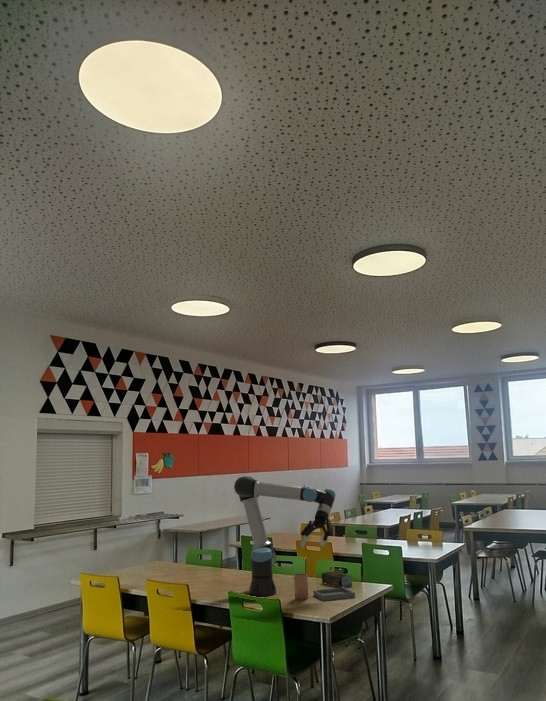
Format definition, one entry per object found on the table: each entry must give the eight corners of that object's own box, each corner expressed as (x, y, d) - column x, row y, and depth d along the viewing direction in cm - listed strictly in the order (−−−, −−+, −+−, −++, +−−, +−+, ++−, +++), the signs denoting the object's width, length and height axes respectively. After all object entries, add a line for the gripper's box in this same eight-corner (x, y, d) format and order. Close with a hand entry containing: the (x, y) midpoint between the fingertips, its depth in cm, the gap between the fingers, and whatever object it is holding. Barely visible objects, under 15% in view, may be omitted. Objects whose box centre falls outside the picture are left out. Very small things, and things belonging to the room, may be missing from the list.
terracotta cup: (293, 598, 295) (292, 573, 298) (305, 596, 297) (304, 572, 300) (297, 600, 288) (296, 575, 291) (310, 599, 290) (309, 574, 293)
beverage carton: (342, 588, 316) (341, 576, 318) (321, 584, 332) (320, 572, 333) (352, 586, 320) (352, 574, 322) (331, 582, 336) (331, 570, 338)
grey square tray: (313, 595, 299) (313, 590, 300) (343, 592, 304) (343, 587, 305) (323, 600, 286) (323, 595, 286) (355, 597, 291) (354, 592, 291)
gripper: (344, 516, 315) (333, 549, 301) (309, 519, 331) (297, 550, 316) (337, 508, 312) (326, 541, 298) (302, 511, 328) (290, 543, 313)
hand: (311, 546), depth 307 cm, fingers open, 13 cm apart
